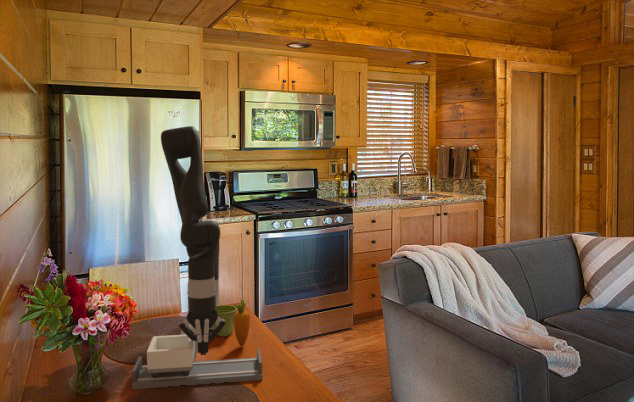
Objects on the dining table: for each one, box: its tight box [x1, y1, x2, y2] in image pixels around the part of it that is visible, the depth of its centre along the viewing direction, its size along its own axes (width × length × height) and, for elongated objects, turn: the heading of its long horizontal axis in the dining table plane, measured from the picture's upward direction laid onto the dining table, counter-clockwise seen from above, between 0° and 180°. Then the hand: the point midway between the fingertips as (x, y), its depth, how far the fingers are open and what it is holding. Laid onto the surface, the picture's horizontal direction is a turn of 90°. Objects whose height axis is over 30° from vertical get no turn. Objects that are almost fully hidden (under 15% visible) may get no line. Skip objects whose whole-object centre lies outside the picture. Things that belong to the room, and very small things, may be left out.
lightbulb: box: [180, 323, 198, 360], centre depth 153 cm, size 6×6×11 cm
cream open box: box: [146, 334, 195, 378], centre depth 142 cm, size 11×11×8 cm
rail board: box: [131, 348, 263, 390], centre depth 143 cm, size 12×34×4 cm, turn 100°
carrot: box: [233, 299, 250, 348], centre depth 163 cm, size 5×5×15 cm
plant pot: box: [213, 304, 238, 337], centre depth 175 cm, size 9×9×9 cm
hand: (203, 353), depth 143 cm, fingers closed
